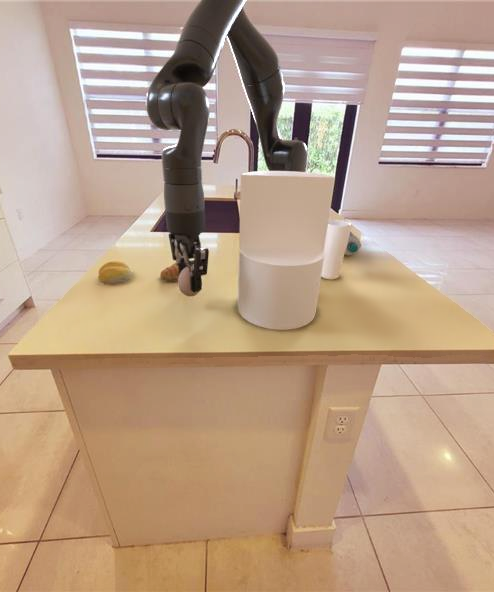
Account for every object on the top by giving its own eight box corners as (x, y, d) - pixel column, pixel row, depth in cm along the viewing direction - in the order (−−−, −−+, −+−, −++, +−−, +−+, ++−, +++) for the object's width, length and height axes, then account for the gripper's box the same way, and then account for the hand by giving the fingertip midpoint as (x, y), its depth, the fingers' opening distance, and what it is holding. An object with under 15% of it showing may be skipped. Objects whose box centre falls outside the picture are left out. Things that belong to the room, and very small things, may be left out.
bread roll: (99, 287, 78) (95, 272, 76) (99, 273, 85) (97, 259, 83) (133, 283, 80) (131, 268, 78) (131, 270, 88) (129, 256, 86)
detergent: (313, 235, 120) (328, 257, 98) (317, 217, 117) (334, 235, 95) (346, 239, 121) (369, 262, 99) (351, 221, 118) (376, 240, 95)
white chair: (239, 289, 78) (242, 169, 65) (308, 292, 78) (325, 172, 65) (236, 328, 63) (239, 181, 50) (322, 331, 63) (348, 184, 50)
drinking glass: (345, 276, 87) (356, 222, 80) (333, 283, 83) (343, 227, 76) (324, 269, 91) (332, 218, 84) (311, 276, 87) (319, 222, 80)
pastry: (167, 285, 79) (166, 271, 78) (156, 277, 84) (154, 263, 82) (199, 276, 85) (198, 263, 83) (186, 269, 89) (185, 256, 88)
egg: (186, 288, 72) (184, 261, 69) (206, 292, 71) (205, 264, 67) (174, 298, 68) (171, 269, 65) (195, 302, 66) (194, 273, 63)
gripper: (220, 212, 57) (222, 294, 65) (186, 198, 67) (191, 270, 75) (182, 217, 53) (189, 304, 61) (152, 202, 64) (161, 278, 72)
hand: (190, 285), depth 68 cm, fingers closed on egg, 5 cm apart
